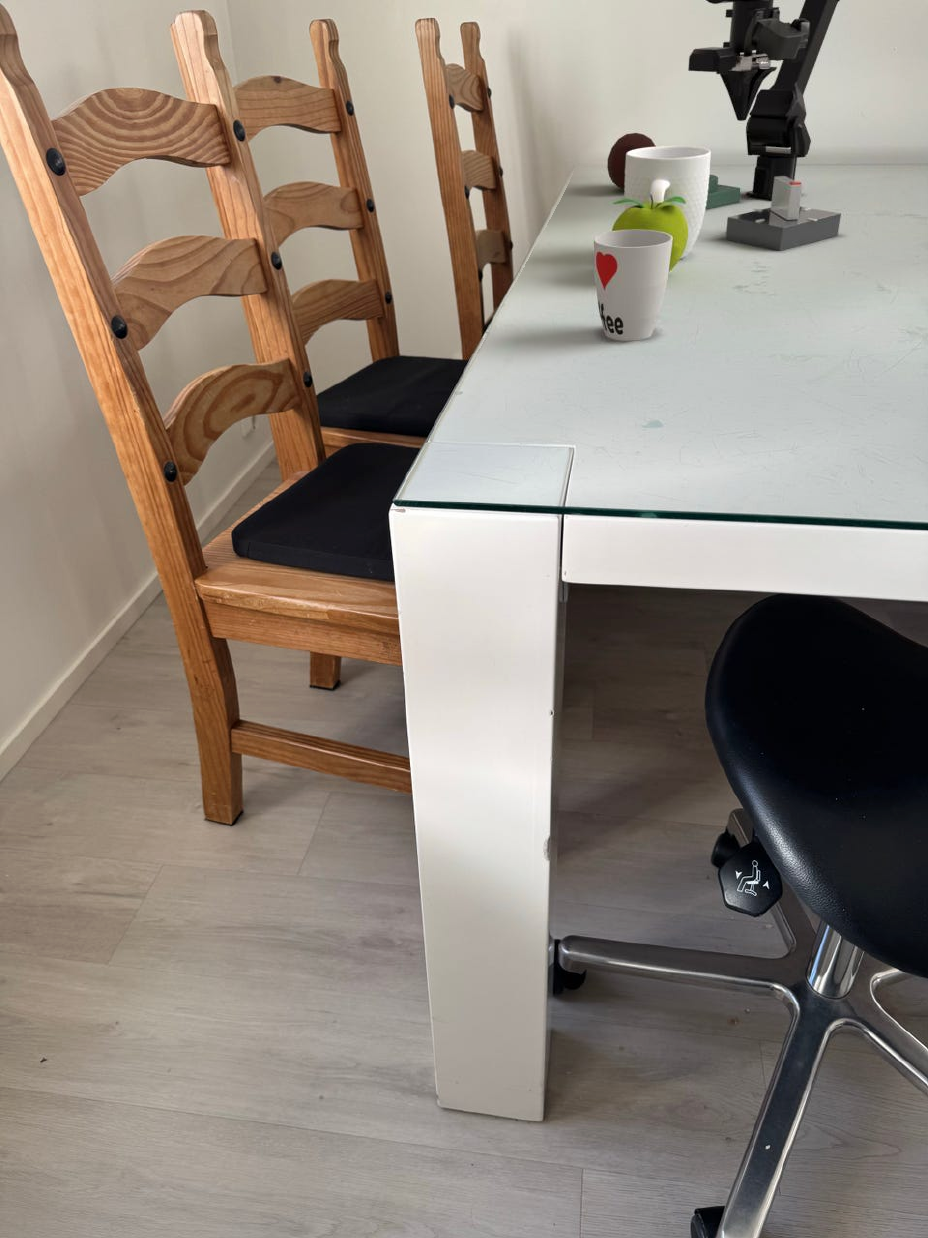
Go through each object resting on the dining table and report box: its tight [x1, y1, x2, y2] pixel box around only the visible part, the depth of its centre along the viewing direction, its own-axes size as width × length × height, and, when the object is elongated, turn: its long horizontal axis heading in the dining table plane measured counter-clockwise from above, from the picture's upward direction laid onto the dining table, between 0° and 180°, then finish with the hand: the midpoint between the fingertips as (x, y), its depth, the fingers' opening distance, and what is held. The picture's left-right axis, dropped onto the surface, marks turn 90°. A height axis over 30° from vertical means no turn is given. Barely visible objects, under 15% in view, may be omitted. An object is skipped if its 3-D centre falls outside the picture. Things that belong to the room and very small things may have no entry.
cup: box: [593, 230, 673, 342], centre depth 103 cm, size 8×8×10 cm
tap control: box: [705, 174, 741, 210], centre depth 159 cm, size 11×9×4 cm
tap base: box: [725, 206, 842, 252], centre depth 137 cm, size 12×11×3 cm
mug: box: [623, 145, 712, 260], centre depth 128 cm, size 15×11×13 cm
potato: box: [606, 132, 657, 191], centre depth 170 cm, size 9×12×9 cm
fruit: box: [611, 194, 688, 272], centre depth 122 cm, size 9×9×10 cm
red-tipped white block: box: [770, 176, 803, 220], centre depth 135 cm, size 7×2×5 cm, turn 4°
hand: (741, 120), depth 148 cm, fingers closed
